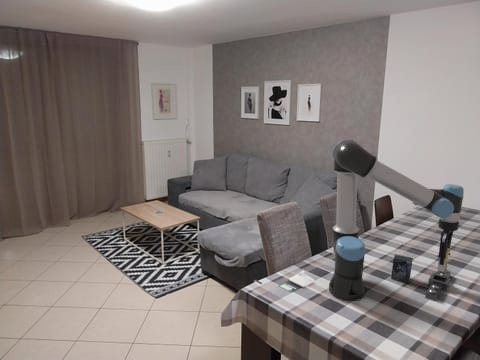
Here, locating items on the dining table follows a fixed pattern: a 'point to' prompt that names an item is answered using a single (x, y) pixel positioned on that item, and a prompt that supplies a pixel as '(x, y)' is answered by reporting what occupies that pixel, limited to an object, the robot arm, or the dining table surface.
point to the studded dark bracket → (438, 285)
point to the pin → (446, 262)
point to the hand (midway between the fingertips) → (441, 269)
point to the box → (401, 268)
